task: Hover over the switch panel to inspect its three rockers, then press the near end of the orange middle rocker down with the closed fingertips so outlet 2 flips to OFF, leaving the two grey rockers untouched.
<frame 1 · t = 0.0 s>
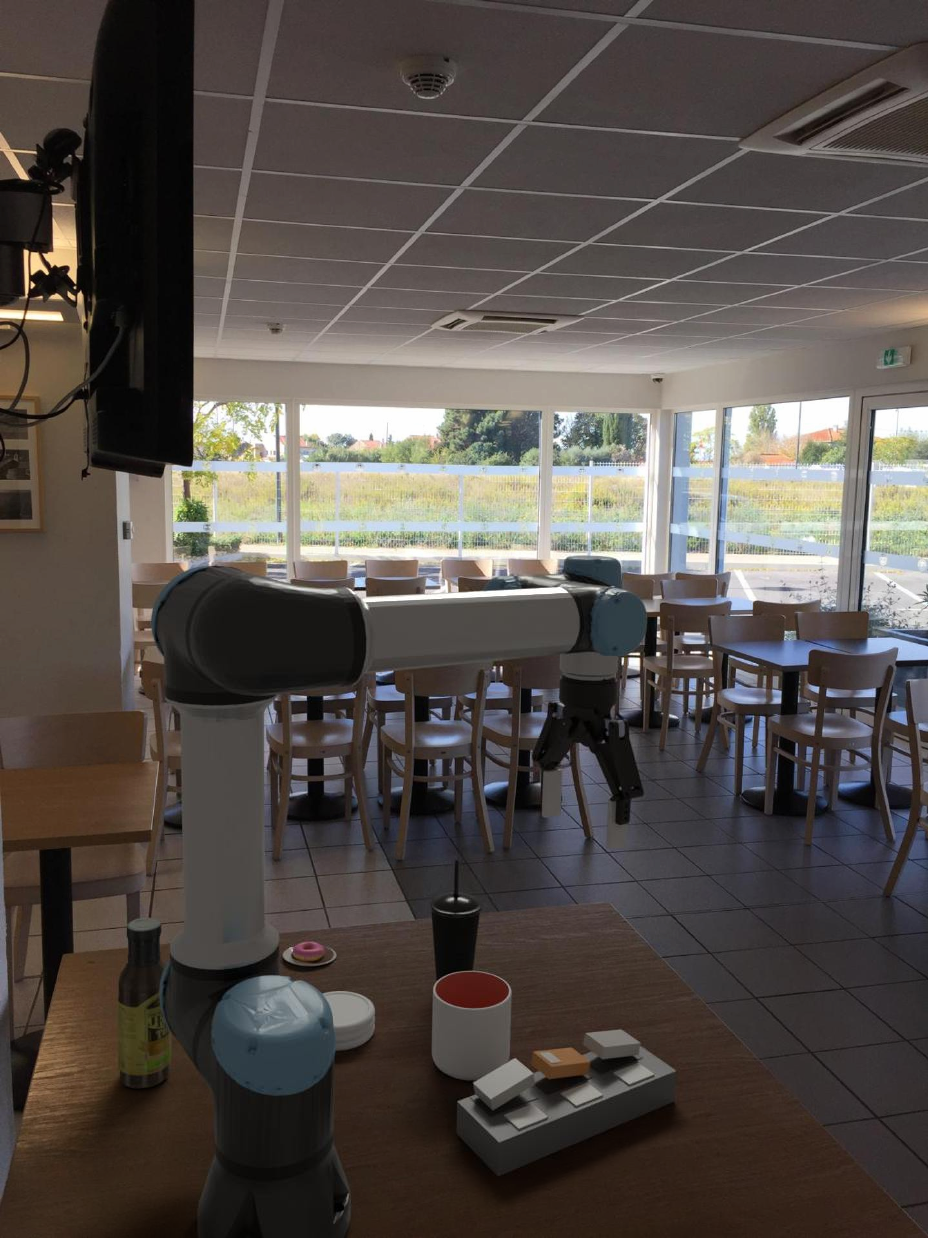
hand: (582, 831, 136), 28 cm above the table, fingers open, 13 cm apart
rocker 3: (611, 1044, 126), point 6 cm above the table, hinge at 12.0°
sauce bottle: (146, 1078, 127), on the table
cup: (470, 1064, 131), on the table
switch panel: (568, 1117, 121), on the table
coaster: (337, 1034, 138), on the table
rocker 1: (504, 1083, 117), point 6 cm above the table, hinge at -12.0°
donut: (308, 965, 157), on the table
rocker 2: (560, 1062, 121), point 6 cm above the table, hinge at 12.0°
drinking cup: (453, 993, 149), on the table
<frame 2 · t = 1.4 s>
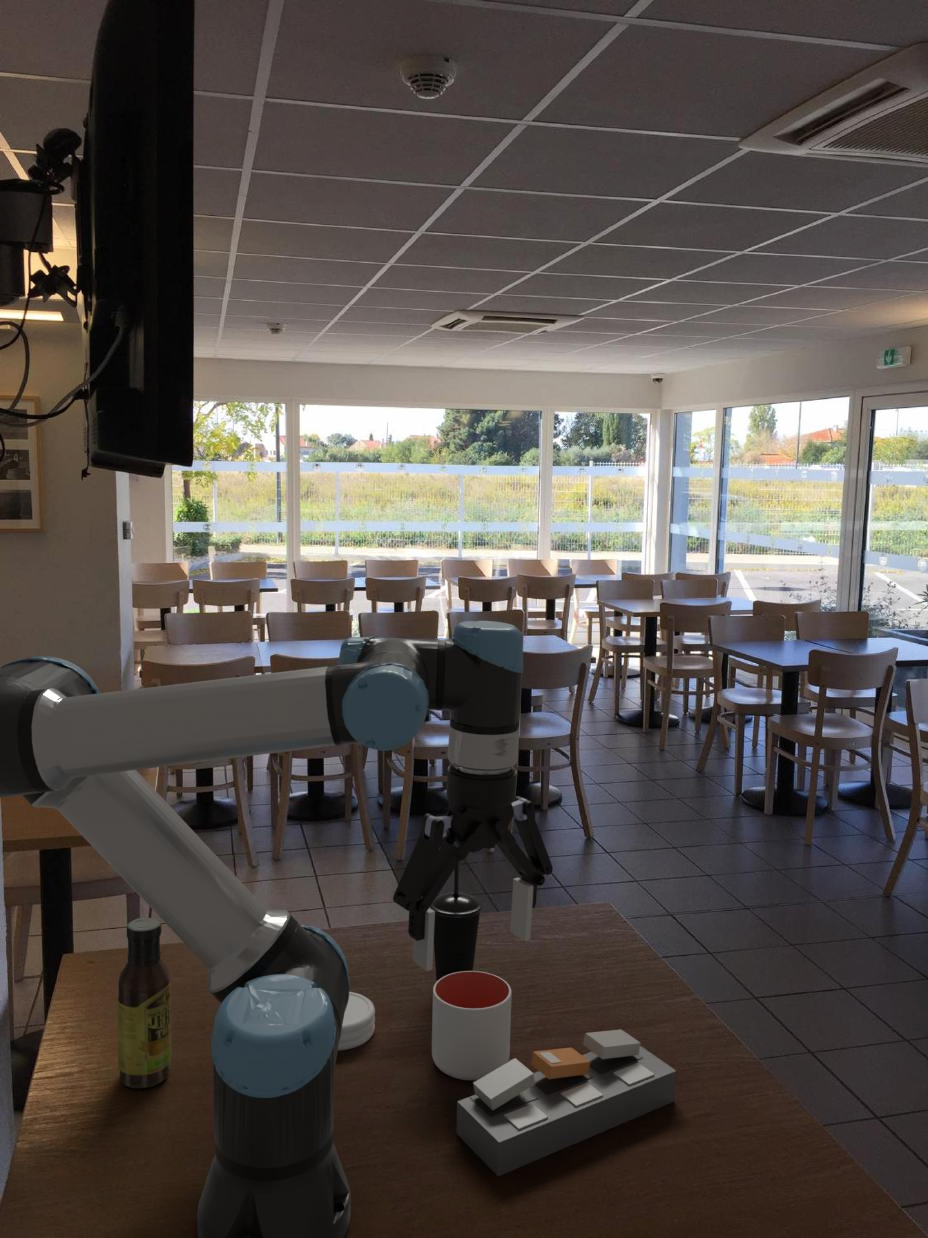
hand: (472, 950, 113), 22 cm above the table, fingers open, 13 cm apart
nothing on the table moved.
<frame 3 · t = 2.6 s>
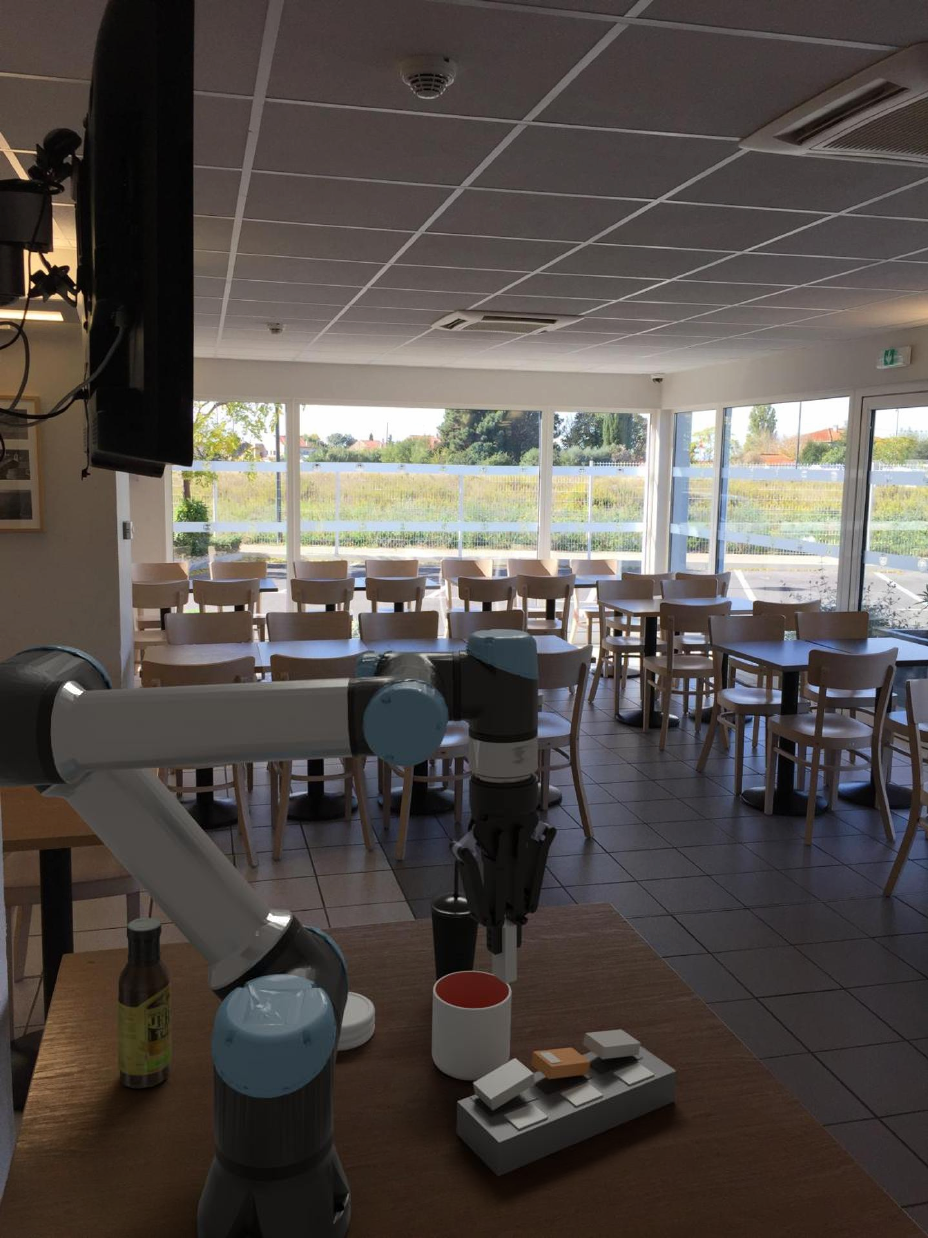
hand: (504, 977, 114), 19 cm above the table, fingers closed
nothing on the table moved.
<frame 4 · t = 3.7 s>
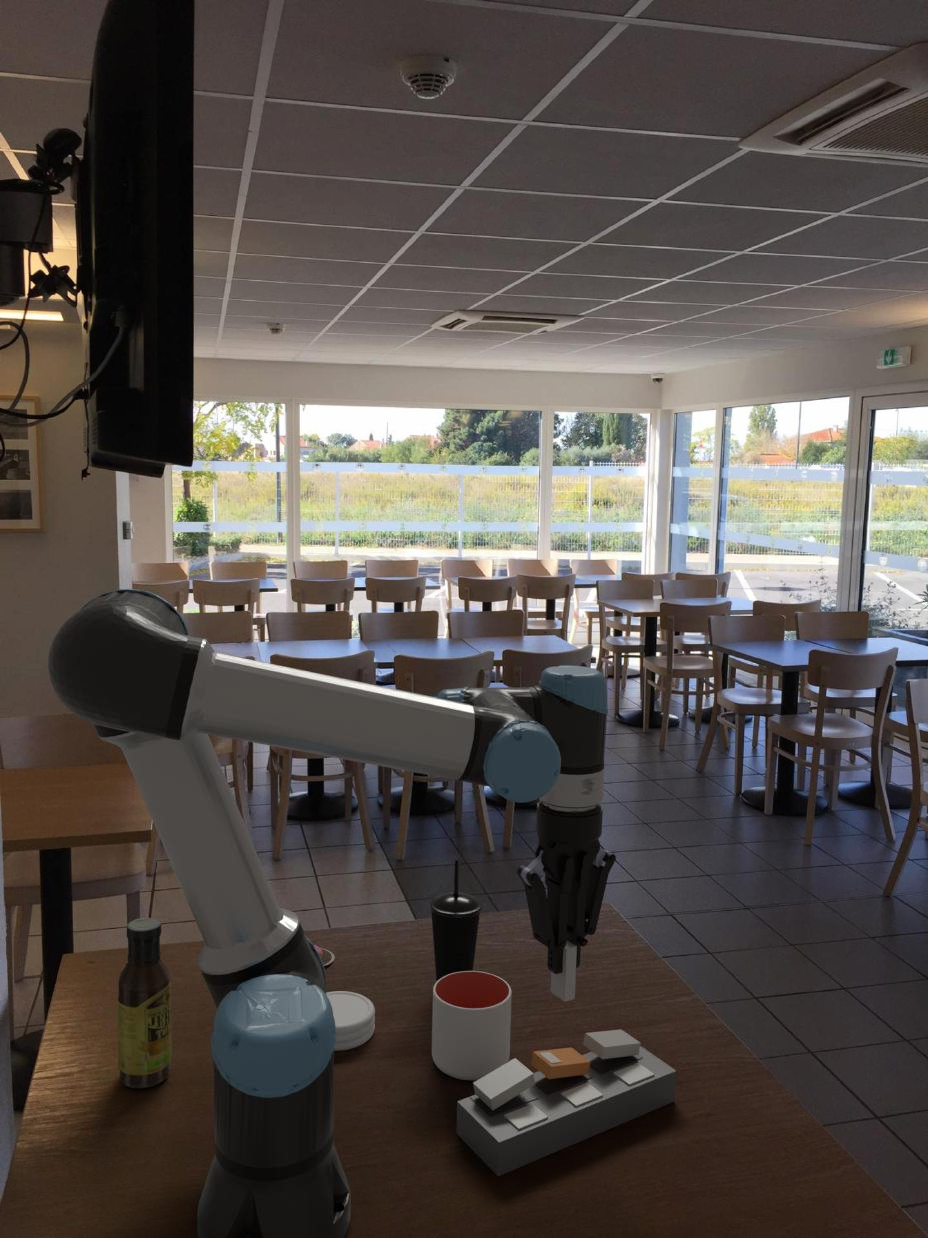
hand: (562, 995, 120), 14 cm above the table, fingers closed
nothing on the table moved.
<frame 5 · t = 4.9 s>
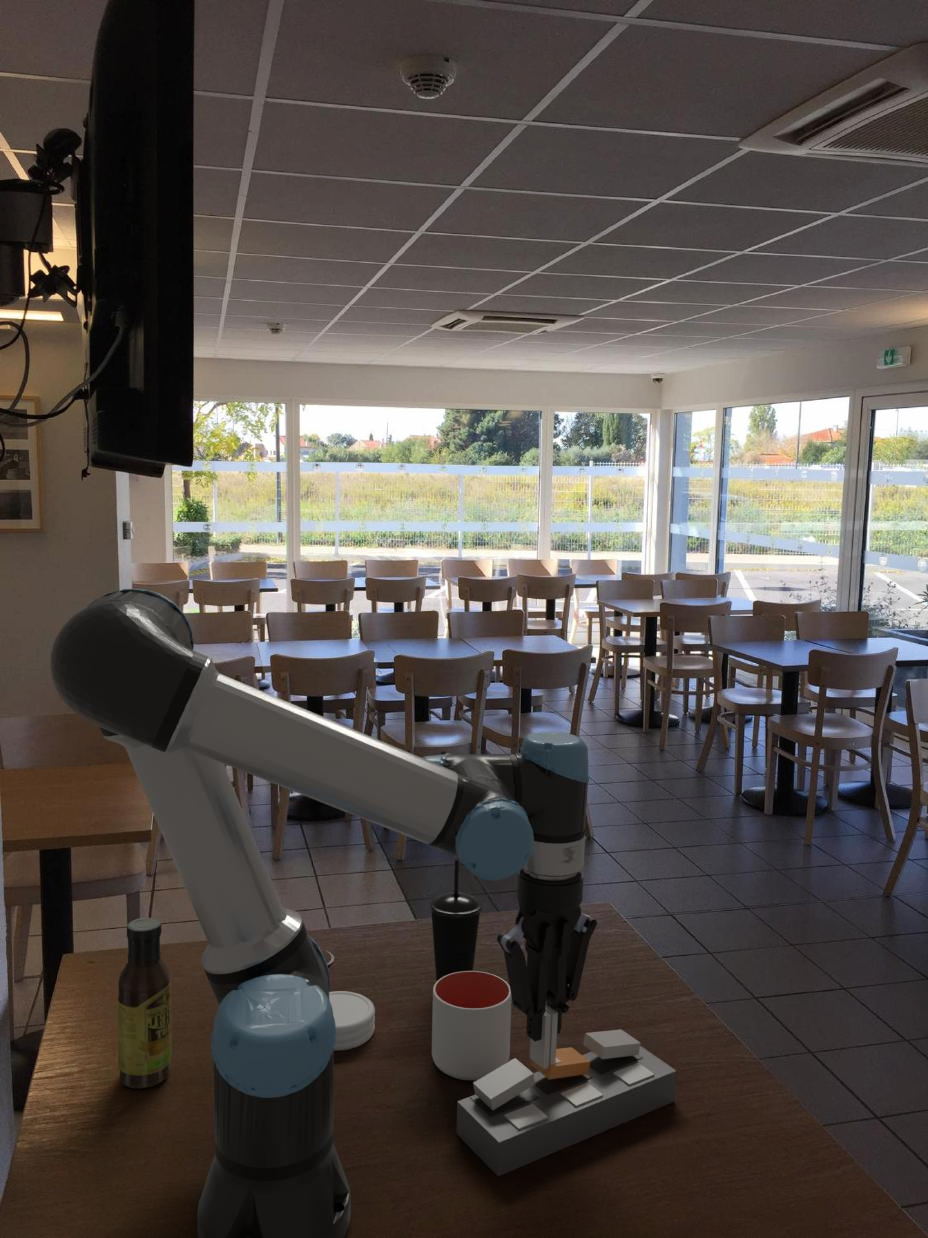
hand: (542, 1061, 120), 7 cm above the table, fingers closed
rocker 2: (560, 1062, 121), point 6 cm above the table, hinge at 11.3°, touching gripper
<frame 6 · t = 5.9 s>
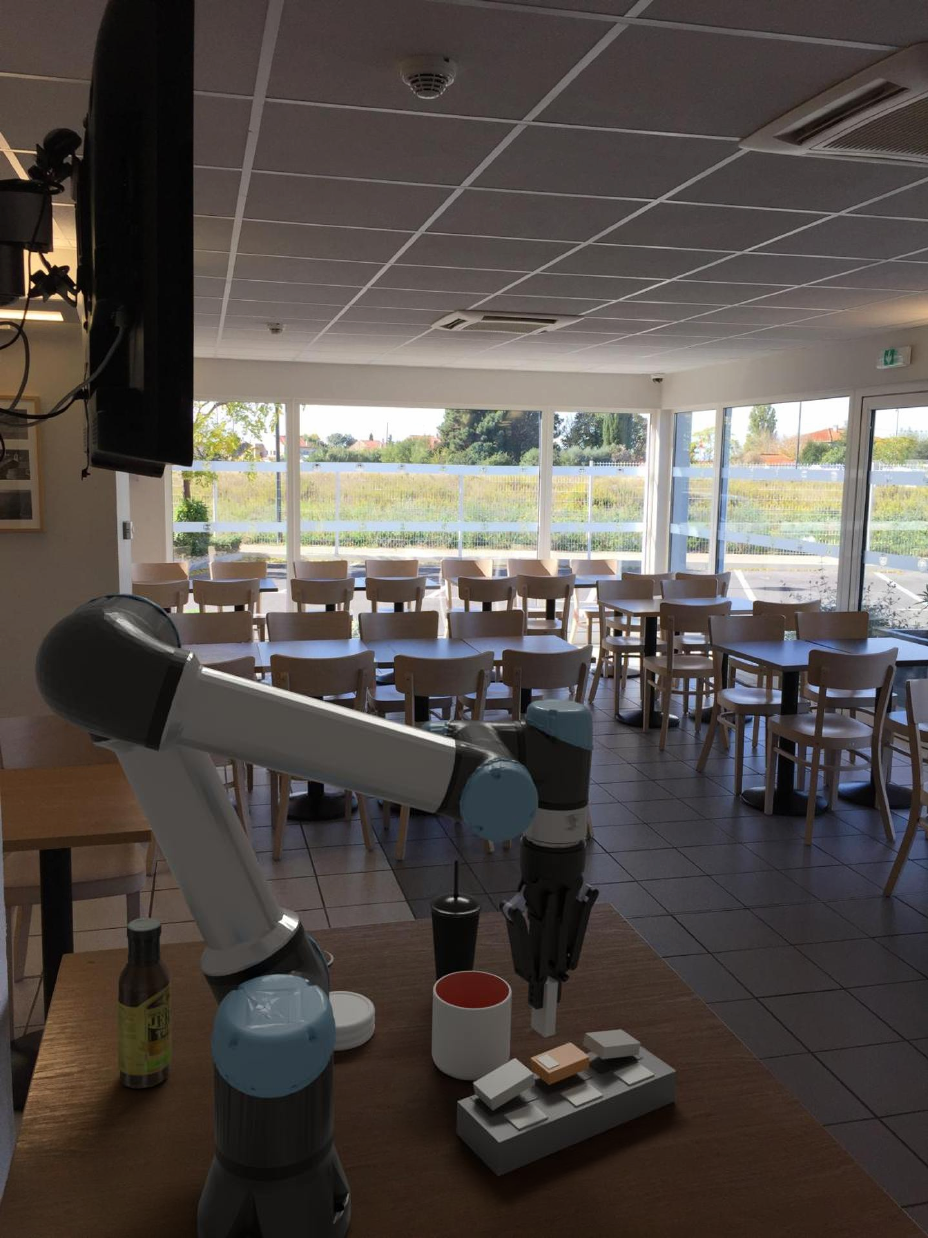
hand: (542, 1030, 119), 11 cm above the table, fingers closed
rocker 2: (559, 1062, 121), point 6 cm above the table, hinge at -1.9°
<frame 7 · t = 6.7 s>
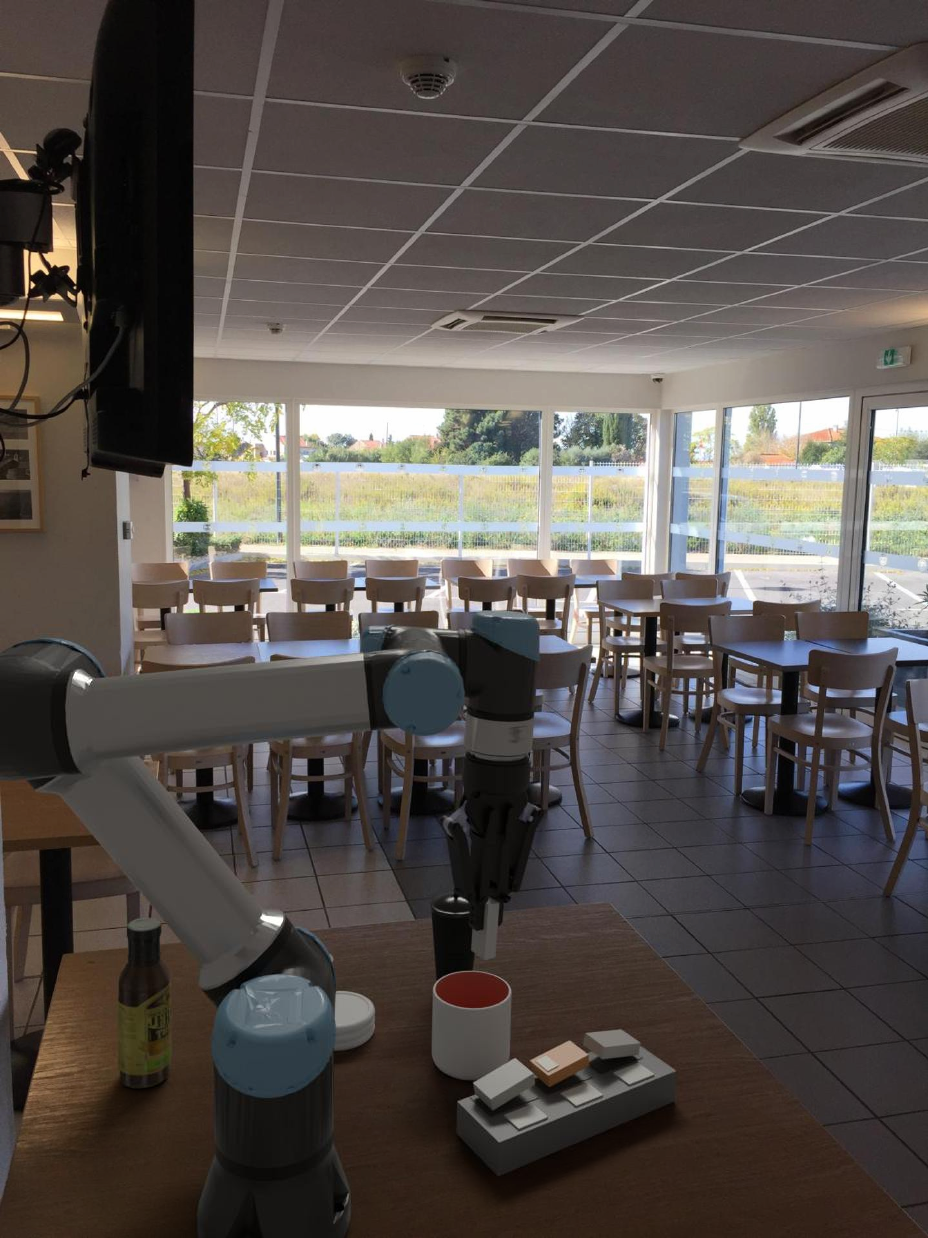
hand: (483, 954, 116), 21 cm above the table, fingers closed
rocker 2: (559, 1063, 121), point 6 cm above the table, hinge at -7.5°
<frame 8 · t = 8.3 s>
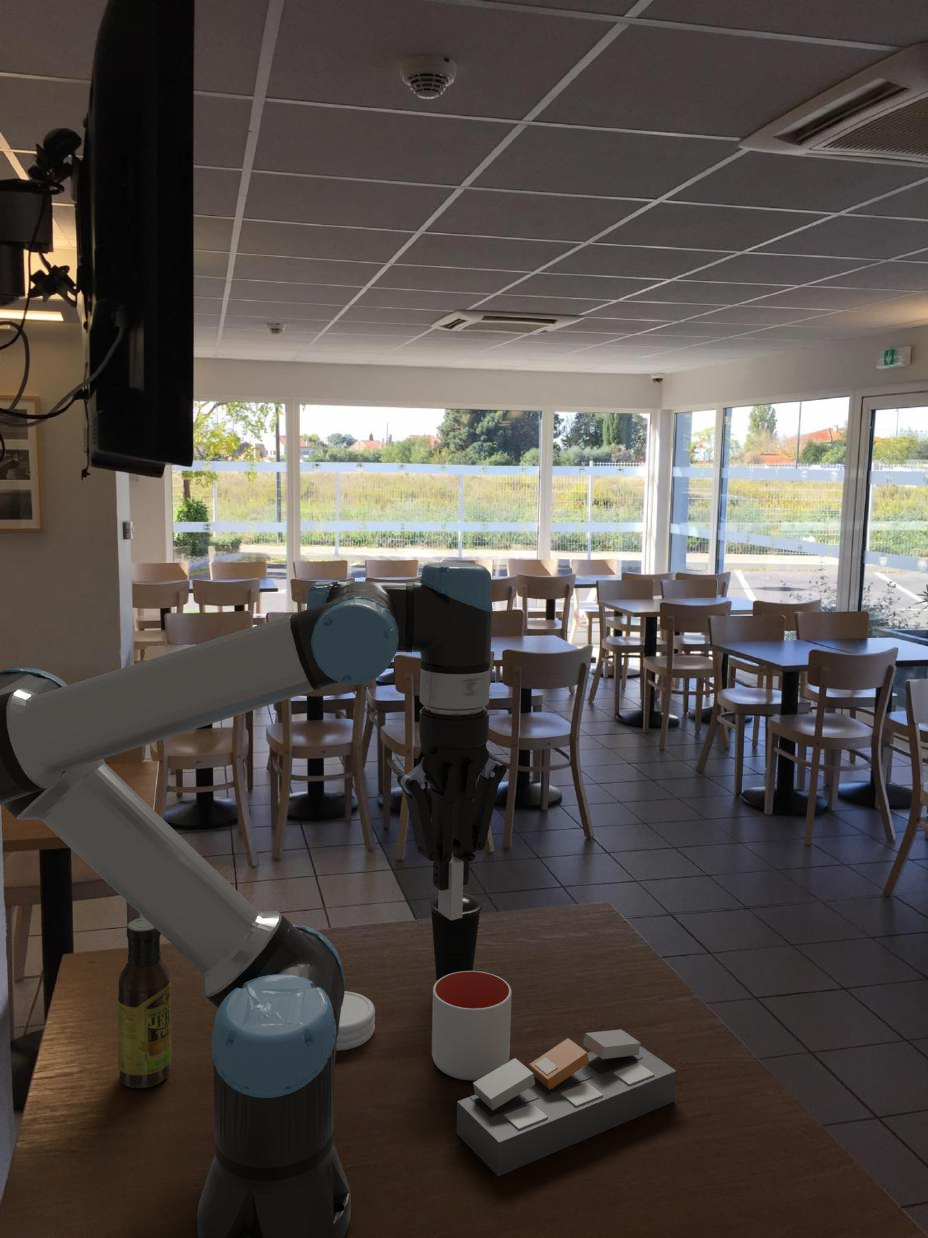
hand: (450, 914, 113), 26 cm above the table, fingers closed
rocker 2: (559, 1063, 121), point 6 cm above the table, hinge at -15.4°
at the end: rocker 2 at -16° (first picture: +12°); rocker 1 at -12° (first picture: -12°); rocker 3 at +12° (first picture: +12°) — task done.
